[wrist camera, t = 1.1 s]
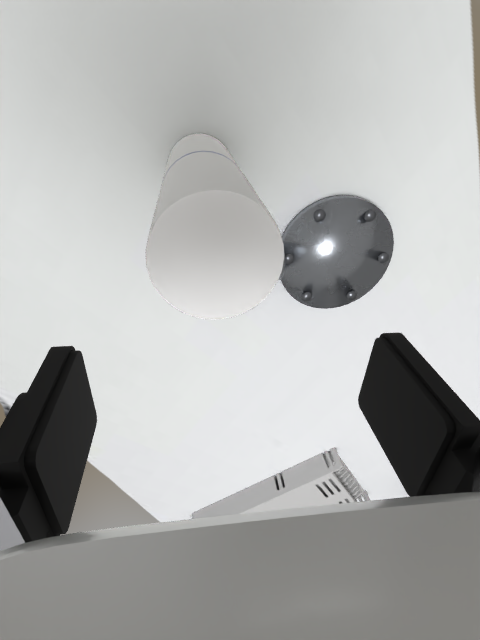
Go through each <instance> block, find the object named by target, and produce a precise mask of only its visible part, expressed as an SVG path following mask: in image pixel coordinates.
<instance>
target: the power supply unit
mask: <svg viewBox="0 0 480 640" xmlns="http://www.w3.org/2000/svg"><path fill="white" fill-rule="evenodd" d="M361 494H362V495H363V497H364V499H365V501H370V499H369V496H368V494H367V492H366V490H365V491H364V490H363V489H362V487H361V486H360V485H359V483H358V482H357V480H356V479H355V478H354V476H353V475H352V474H351V472H350V471H349V469H348V468H347V467H346V465H345V464H344V463H343V461H342V460H341V458H340V457H339V456H338V454H337V451H336V449H335V447H334V448H332V449H330V452H328V451H325V454H322V453H321V454H319V455H317V456H314V457H312V458H310V459H308V460H306V461H303V462H301V463H299V464H297V465H295V466H293V467H290V468H288V469H286V470H284V471H282V474H280V473H278V474H276V476H271V477H269V478H267V479H265V480H263V481H260V482H258V483H256V484H254V485H252V486H250V487H248V488H245V489H243V490H241V491H239V492H237V493H235V494H232V495H230V496H228V497H226V498H224V499H222V500H220V501H217V502H215V503H213V504H211V505H209V506H207V507H204V508H202V509H200V510H198V511H196V512H194V513H193V514H192V516H193V519H198V518H207V517H217V516H226V515H235V514H245V513H254V512H264V511H274V510H283V509H293V508H303V507H313V506H322V505H332V504H342V503H353V502H357V500H356V498H357V497H358V499H359V501H360V502H363V501H362V499H361V497H360V495H361Z"/></svg>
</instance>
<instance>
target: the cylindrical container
mask: <svg viewBox="0 0 480 640" xmlns="http://www.w3.org/2000/svg"><path fill="white" fill-rule="evenodd" d="M283 261H284V244H283V241H282V237H281V233H280V231H279V229H278V227H277V225H276V223H275V221H274V219H273V218H272V216H271V215H270V213H269V212H268V210H267V209H266V207H265V206H264V204H263V203H262V201H261V200H260V198H259V197H258V195H257V194H256V192H255V191H254V189H253V188H252V186H251V185H250V183H249V182H248V180H247V179H246V177H245V176H244V174H243V173H242V171H241V170H240V168H239V167H238V165H237V164H236V162H235V161H234V159H233V157H232V156H231V154H230V153H229V151H228V150H227V149H226V147H225V146H224V145H223V144H222V143H221V142H220V141H219V140H218V139H216V138H214V137H213V136H210V135H207V134H200V133H197V134H191V135H188V136H186V137H184V138H182V139H181V140H179V141H178V142H177V143H176V144H175V146H174V147H173V149H172V150H171V152H170V155H169V158H168V162H167V166H166V170H165V173H164V177H163V181H162V185H161V189H160V193H159V197H158V201H157V205H156V209H155V213H154V217H153V221H152V224H151V228H150V232H149V236H148V241H147V246H146V266H147V270H148V274H149V277H150V280H151V282H152V284H153V285H154V287H155V289H156V291H157V292H158V293H159V294H160V296H161V297H162V298H163V299H164V300H165V301H166V302H167V303H169V304H170V305H171V306H172V307H174V308H175V309H177V310H179V311H180V312H182V313H185V314H187V315H190V316H193V317H197V318H202V319H225V318H232V317H234V316H237V315H240V314H243V313H245V312H247V311H249V310H251V309H253V308H254V307H256V306H257V305H258V304H259V303H261V302H262V301H263V300H264V299H265V298H266V297H267V296H268V295H269V294H270V293H271V291H272V290H273V288H274V287H275V285H276V283H277V282H278V279H279V277H280V274H281V272H282V267H283Z"/></svg>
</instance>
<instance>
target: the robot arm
mask: <svg viewBox="0 0 480 640" xmlns="http://www.w3.org/2000/svg"><path fill="white" fill-rule="evenodd" d="M358 402H359V407H360V409H361V411H362V412H363V414H364V416H365V418H366V420H367V421H368V423H369V425H370V427H371V429H372V431H373V432H374V434H375V436H376V438H377V440H378V441H379V443H380V445H381V447H382V449H383V450H384V452H385V454H386V456H387V458H388V459H389V461H390V463H391V465H392V467H393V469H394V470H395V472H396V474H397V476H398V478H399V479H400V481H401V483H402V485H403V487H404V488H405V490H406V492H407V494H408V495H409V496H410V497H404V498H394V499H383V500H373V501H363V502H353V503H342V504H332V505H322V506H313V507H303V508H293V509H283V510H274V511H264V512H254V513H245V514H235V515H226V516H217V517H207V518H198V519H189V520H180V521H171V522H161V523H152V524H143V525H135V526H127V527H119V528H111V529H103V530H95V531H87V532H80V533H73V534H67V535H61V536H60V534H65V533H66V532H67V531H68V528H69V524H70V521H71V517H72V513H73V510H74V506H75V502H76V498H77V494H78V491H79V487H80V484H81V480H82V476H83V472H84V469H85V465H86V461H87V458H88V454H89V450H90V447H91V443H92V439H93V435H94V432H95V428H96V423H97V415H96V410H95V406H94V402H93V398H92V394H91V389H90V385H89V381H88V377H87V373H86V369H85V365H84V360H83V356H82V353H81V351H75V348H74V347H73V346H61V347H51V349H50V350H49V352H48V354H47V356H46V358H45V360H44V361H43V363H42V365H41V367H40V369H39V371H38V373H37V375H36V377H35V378H34V380H33V382H32V384H31V386H30V388H29V390H28V392H27V393H21V394H20V395H19V396H18V397H17V399H16V400H15V402H14V404H13V406H12V407H11V409H10V411H9V413H8V415H7V416H6V418H5V420H4V422H3V424H2V425H1V428H0V640H480V420H479V419H478V418H477V417H476V416H475V414H474V413H473V412H472V411H471V410H470V409H469V408H468V407H467V406H466V404H465V403H464V402H463V401H462V400H461V399H460V398H459V397H458V396H457V394H456V393H455V392H454V391H453V390H452V389H451V388H450V387H449V386H448V384H447V383H446V382H445V381H444V380H443V379H442V378H441V377H440V375H439V374H438V373H437V372H436V371H435V370H434V369H433V368H432V367H431V365H430V364H429V363H428V362H427V361H426V360H425V359H424V358H423V357H422V355H421V354H420V353H419V352H418V351H417V350H416V349H415V348H414V347H413V345H412V344H411V343H410V342H409V341H408V340H407V339H406V338H405V336H404V335H403V334H401V333H383V334H381V335H380V337H379V338H377V339H376V340H375V342H374V345H373V349H372V352H371V356H370V359H369V363H368V366H367V370H366V373H365V376H364V380H363V383H362V387H361V390H360V394H359V398H358Z"/></svg>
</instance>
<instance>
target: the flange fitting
mask: <svg viewBox="0 0 480 640" xmlns="http://www.w3.org/2000/svg"><path fill="white" fill-rule="evenodd" d="M282 241H283V244H284V261H283V267H282V272H281V274H280V277H279V279H278V280H281V281H282V283H283V285H284V287H285V288H286V290H287V291H288V293H289V294H290V295H291V296H292V297H293V298H295V299H296V300H297V301H299V302H301V303H303V304H305V305H307V306H311V307H315V308H335V307H340V306H343V305H346V304H349V303H351V302H353V301H355V300H357V299H359V298H360V297H362V296H363V295H365V294H366V293H367V292H369V291H370V290H371V289H372V288H373V287H374V286H375V285H376V284H377V283H378V281H379V280H380V279H381V278H382V276H383V274H384V273H385V271H386V269H387V267H388V265H389V263H390V260H391V257H392V252H393V244H394V241H393V232H392V228H391V225H390V223H389V221H388V219H387V217H386V216H385V215H384V213H383V212H382V211H381V210H380V209H379V208H377V207H376V206H375V205H373V204H372V203H370V202H368V201H367V200H364V199H362V198H360V197H356V196H350V195H336V196H331V197H327V198H324V199H321V200H319V201H317V202H314V203H312V204H311V205H309V206H308V207H306V208H305V209H303V210H302V211H301V212H300V213H299V214H298V215H297V216H296V217H295V218H294V219H293V220H292V221H291V222H290V224H289V225H288V226H287V228H286V230H285V231H284V233H283V235H282Z"/></svg>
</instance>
